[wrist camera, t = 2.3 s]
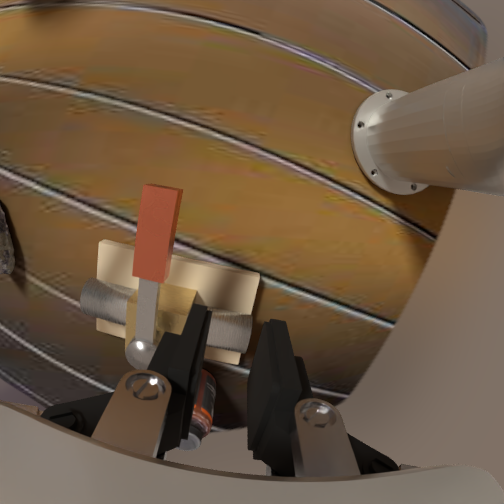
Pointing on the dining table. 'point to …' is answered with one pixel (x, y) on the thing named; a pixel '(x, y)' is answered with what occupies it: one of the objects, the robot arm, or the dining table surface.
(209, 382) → the supplement bottle
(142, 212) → the lever
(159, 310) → the valve body
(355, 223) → the dining table surface
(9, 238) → the mineral rock
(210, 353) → the board
